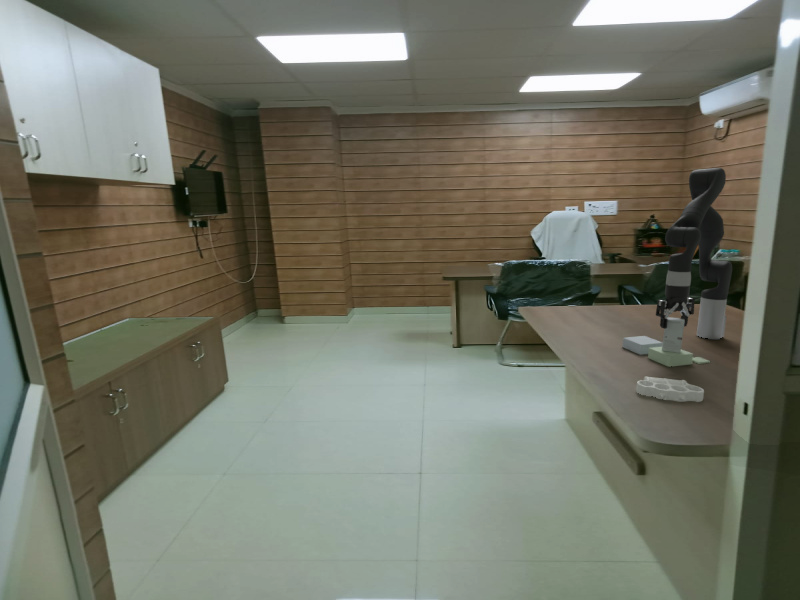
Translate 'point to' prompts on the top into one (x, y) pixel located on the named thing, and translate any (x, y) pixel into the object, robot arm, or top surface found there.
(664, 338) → the skincare box
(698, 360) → the sage tile
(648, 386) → the white brass knuckles
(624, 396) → the top surface
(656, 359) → the sage riser block
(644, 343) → the blue-grey riser block
